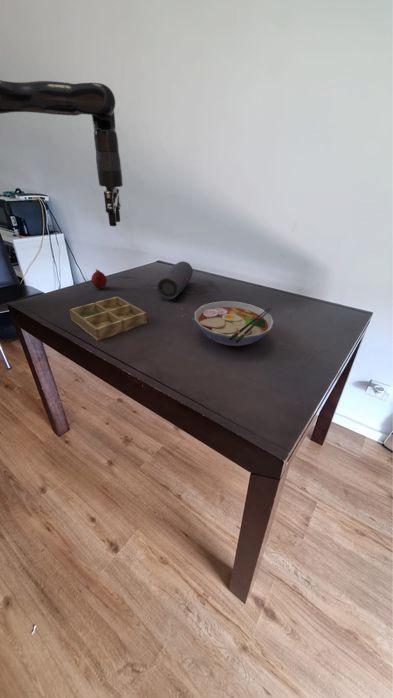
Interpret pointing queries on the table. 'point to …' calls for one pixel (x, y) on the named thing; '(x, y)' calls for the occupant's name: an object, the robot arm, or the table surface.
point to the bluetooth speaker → (175, 280)
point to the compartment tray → (108, 317)
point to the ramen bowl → (233, 322)
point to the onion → (99, 279)
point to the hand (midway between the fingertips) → (115, 223)
